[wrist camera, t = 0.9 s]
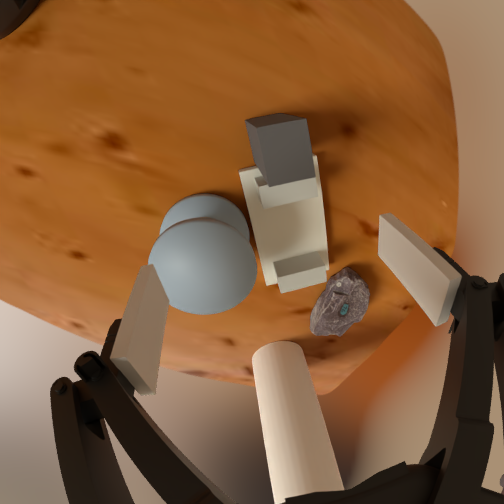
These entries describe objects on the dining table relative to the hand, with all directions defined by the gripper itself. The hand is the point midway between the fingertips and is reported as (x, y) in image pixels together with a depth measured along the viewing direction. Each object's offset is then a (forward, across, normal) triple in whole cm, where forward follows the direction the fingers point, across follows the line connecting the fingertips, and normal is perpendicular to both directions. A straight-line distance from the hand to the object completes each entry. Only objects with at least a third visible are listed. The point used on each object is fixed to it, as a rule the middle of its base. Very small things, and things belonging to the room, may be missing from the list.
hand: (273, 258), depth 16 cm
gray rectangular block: (+19, +3, +4) cm, 20 cm away
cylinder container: (+19, 0, -34) cm, 39 cm away
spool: (+19, -6, -7) cm, 21 cm away
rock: (+19, +11, -22) cm, 31 cm away
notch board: (+19, +4, -7) cm, 21 cm away
